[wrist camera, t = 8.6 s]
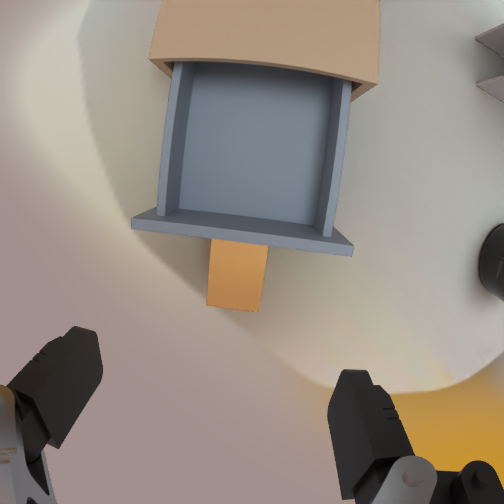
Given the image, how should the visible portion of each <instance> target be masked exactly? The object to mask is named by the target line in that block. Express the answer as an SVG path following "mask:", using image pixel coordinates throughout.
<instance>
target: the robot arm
mask: <svg viewBox="0 0 504 504" xmlns="http://www.w3.org/2000/svg"><path fill="white" fill-rule="evenodd" d="M102 375H103V365H102V360H101V354H100V349H99V343H98V337H97V334H96V332H95V331H92V330H88V329H85V328H81V327H78V326H74V327H72V328H71V329H70V330H69V331H68V332H67V333H66V334H65V335H64V336H63V337H61V336H60V337H58V338H56V339H54V340H52V341H50V342H48V343H47V344H46V345H45V346H44V347H43V348H42V349H41V350H40V352H39V353H37V354H36V355H35V356H34V357H33V360H30V361H29V363H27V365H26V366H25V367H24V368H23V369H22V370H21V371H20V372H19V373H18V374H17V375H16V376H15V377H14V379H12V381H11V382H10V383H9V384H8V385H7V386H4V385H0V504H58V503H57V501H56V499H55V495H54V491H53V488H52V484H51V479H50V475H49V471H48V466H47V462H46V457H45V452H44V450H43V448H44V447H45V445H46V444H49V445H51V446H53V447H55V448H57V449H59V448H60V446H61V444H62V443H63V441H64V439H65V438H66V436H67V435H68V433H69V431H70V430H71V428H72V426H73V425H74V423H75V421H76V420H77V418H78V417H79V415H80V413H81V412H82V410H83V409H84V407H85V406H86V404H87V402H88V401H89V399H90V398H91V396H92V395H93V393H94V391H95V390H96V388H97V387H98V385H99V384H100V382H101V379H102ZM327 417H328V424H329V429H330V434H331V440H332V445H333V450H334V456H335V461H336V467H337V472H338V478H339V484H340V490H341V496H342V500H348V499H355V503H356V504H504V489H503V487H502V485H501V482H500V480H499V478H498V475H497V473H496V471H495V470H494V468H493V467H492V466H491V465H489V464H488V463H486V462H484V461H472V462H470V463H468V464H467V465H466V466H465V467H464V468H463V469H462V470H461V471H460V472H452V471H437V470H435V468H434V466H433V465H432V464H431V463H430V462H429V461H427V460H426V459H424V458H422V457H419V456H415V454H414V452H413V449H412V447H411V444H410V442H409V439H408V437H407V434H406V432H405V430H404V427H403V425H402V423H401V420H400V419H399V415H398V413H397V411H396V410H395V406H394V404H393V402H392V399H391V397H390V395H389V394H388V393H387V392H386V391H385V390H384V389H383V388H382V387H381V386H380V385H373V383H372V380H371V378H370V376H369V373H368V371H367V370H349V369H344V370H343V371H342V372H341V374H340V376H339V379H338V382H337V384H336V387H335V390H334V392H333V395H332V397H331V400H330V402H329V406H328V414H327Z"/></svg>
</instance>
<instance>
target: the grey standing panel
mask: <svg viewBox="0 0 504 504" xmlns="http://www.w3.org/2000/svg"><path fill="white" fill-rule="evenodd" d="M475 39H476V40H478V41H479V42H481V43H482V44H484V45H486V46H487V47H489V48H490V49H491V50H493V51H494V52H496V53H497V54H499V55H500V56H502V57H503V58H504V24H501V25H499V26H497V27H495V28H493V29H490V30H488V31H486V32H484V33H482V34H480V35H478V36H476V37H475ZM476 84H477V86H478V87H480V88H481V89H483V90H485V91H486V92H488V93H489V94H491V95H493V96H494V97H496V98H497V99H499V100H500V101H502V102H503V103H504V75H503V76H499V77H495V78H491V79H488V80H484V81H481V82H477V83H476Z"/></svg>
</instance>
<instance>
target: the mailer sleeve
mask: <svg viewBox="0 0 504 504" xmlns="http://www.w3.org/2000/svg"><path fill="white" fill-rule="evenodd" d="M379 44H380V7H379V0H162V4H161V8H160V11H159V15H158V19H157V23H156V27H155V31H154V35H153V39H152V44H151V48H150V53H149V58H148V59H149V60H150V61H151V62H152V63H154V64H155V65H156V66H157V67H158V68H160V69H161V70H162V71H163V72H164V73H165V74H166V75H168V76H169V77H170V78H171V79H172V75H173V70H174V64H175V61H205V62H229V63H243V64H254V65H264V66H272V67H280V68H287V69H294V70H300V71H306V72H312V73H317V74H323V75H328V76H332V77H337V78H342V79H346V80H350V81H352V86H351V98H350V102H352V101H353V100H355V99H356V98H358V97H359V96H361V95H362V94H364V93H365V92H367V91H368V90H370V89H371V88H373V87H374V86H376V85H377V84H378V72H379Z"/></svg>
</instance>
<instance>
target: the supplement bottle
mask: <svg viewBox="0 0 504 504" xmlns="http://www.w3.org/2000/svg"><path fill="white" fill-rule="evenodd" d="M480 276H481V280H482V283H483V284H484V286H485V287H486V288H487V289H488V290H489V291H490V292H491V293H493V294H494V295H495V296H496V297H498V298H499V299H500V300H502V301H503V302H504V224H503V225H501V226H499V227H498V228H496V229H495V230H494V231H493V232H492V233H491V235H490V236H489V237H488V239H487V241H486V243H485V245H484V247H483V250H482V254H481V258H480Z"/></svg>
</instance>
